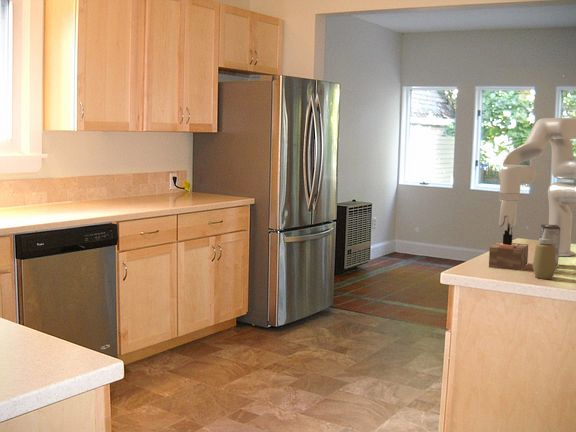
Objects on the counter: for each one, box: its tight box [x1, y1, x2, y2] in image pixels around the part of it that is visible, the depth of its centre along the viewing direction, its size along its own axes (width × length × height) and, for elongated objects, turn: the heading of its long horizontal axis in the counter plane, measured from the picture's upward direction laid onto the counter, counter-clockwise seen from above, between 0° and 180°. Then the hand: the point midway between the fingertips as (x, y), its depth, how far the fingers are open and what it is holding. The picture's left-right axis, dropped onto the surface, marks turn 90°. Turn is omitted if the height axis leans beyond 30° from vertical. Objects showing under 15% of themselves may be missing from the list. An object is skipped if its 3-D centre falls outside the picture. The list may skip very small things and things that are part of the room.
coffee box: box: [539, 223, 560, 269], centre depth 287 cm, size 9×6×16 cm
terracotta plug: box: [500, 243, 515, 249], centre depth 283 cm, size 5×5×6 cm
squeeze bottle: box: [532, 229, 557, 280], centre depth 262 cm, size 8×8×18 cm
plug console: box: [488, 241, 529, 271], centre depth 286 cm, size 16×12×8 cm
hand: (507, 244), depth 282 cm, fingers closed
